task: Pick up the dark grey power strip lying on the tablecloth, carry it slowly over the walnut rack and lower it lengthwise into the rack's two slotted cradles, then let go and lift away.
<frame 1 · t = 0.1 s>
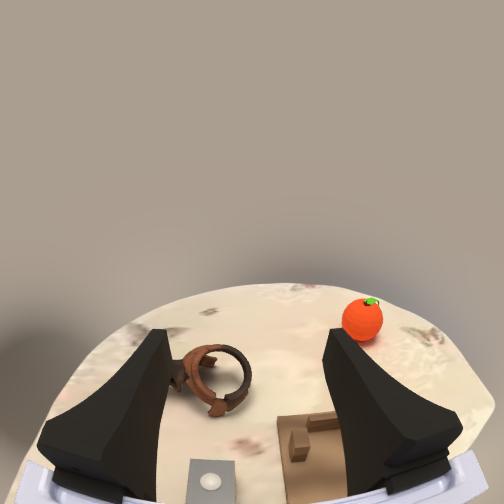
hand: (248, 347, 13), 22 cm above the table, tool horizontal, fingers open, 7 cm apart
clementine: (359, 336, 47), on the table
brown open ring: (204, 392, 35), on the table
rack: (333, 486, 22), on the table
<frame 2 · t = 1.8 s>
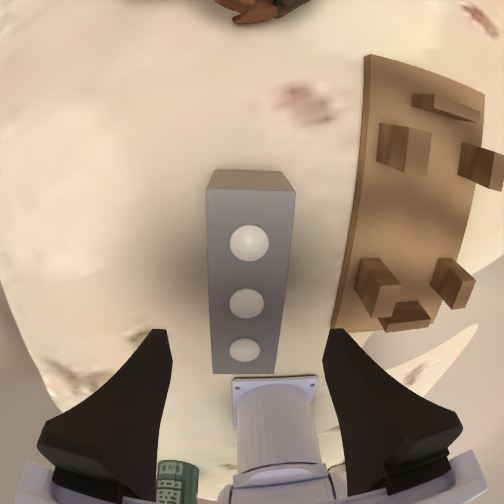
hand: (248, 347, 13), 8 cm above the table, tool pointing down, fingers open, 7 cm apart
can: (178, 466, 36), on the table
power strip: (244, 258, 20), on the table
rack: (414, 210, 19), on the table
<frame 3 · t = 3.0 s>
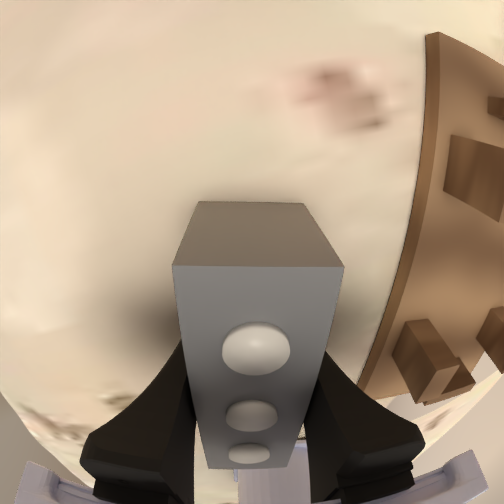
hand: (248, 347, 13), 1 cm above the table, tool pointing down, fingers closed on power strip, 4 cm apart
power strip: (247, 325, 14), on the table, touching gripper
rack: (472, 252, 13), on the table
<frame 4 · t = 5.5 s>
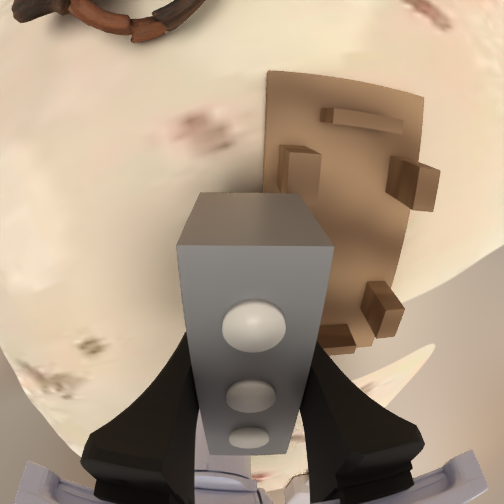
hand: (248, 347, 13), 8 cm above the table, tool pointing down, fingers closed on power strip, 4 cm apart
charger: (315, 474, 41), on the table
power strip: (246, 312, 14), point 6 cm above the table, touching gripper
rack: (334, 232, 19), on the table
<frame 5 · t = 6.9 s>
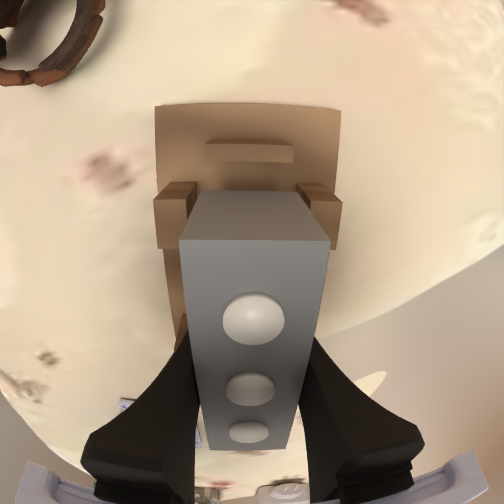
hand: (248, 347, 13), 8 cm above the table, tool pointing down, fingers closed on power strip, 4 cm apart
charger: (282, 485, 41), on the table
brown open ring: (46, 30, 11), on the table
power strip: (246, 308, 15), point 5 cm above the table, touching gripper
rack: (244, 264, 19), on the table
egg carton: (201, 491, 42), on the table
when the fingers open (4 cm above the table, at t = 8.0 s): power strip stays where it is, resting on rack.
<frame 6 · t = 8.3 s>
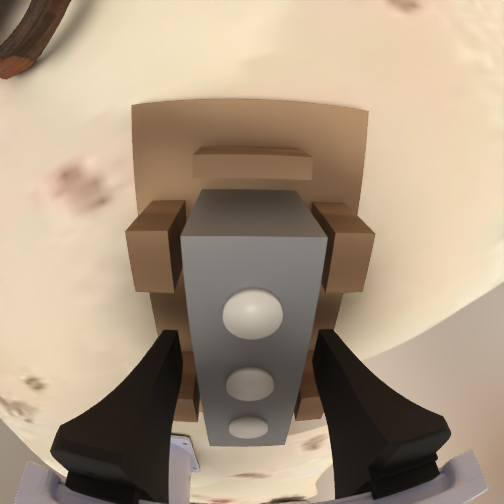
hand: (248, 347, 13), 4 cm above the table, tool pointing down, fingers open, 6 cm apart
charger: (282, 502, 38), on the table
brown open ring: (16, 16, 8), on the table
power strip: (246, 305, 15), point 1 cm above the table, touching rack
rack: (246, 297, 16), on the table
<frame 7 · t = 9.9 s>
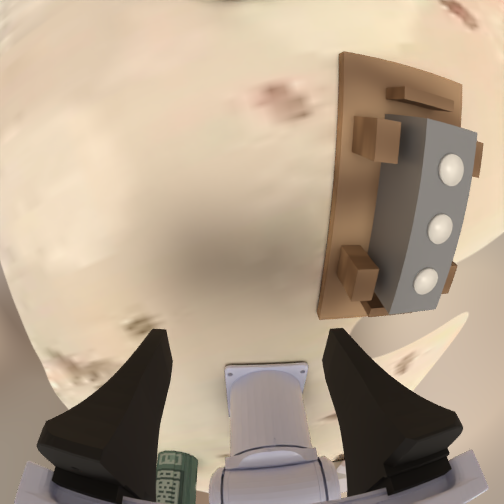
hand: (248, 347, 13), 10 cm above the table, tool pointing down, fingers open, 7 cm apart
can: (178, 457, 38), on the table
charger: (343, 461, 42), on the table
power strip: (400, 201, 19), point 1 cm above the table, touching rack
rack: (393, 199, 20), on the table
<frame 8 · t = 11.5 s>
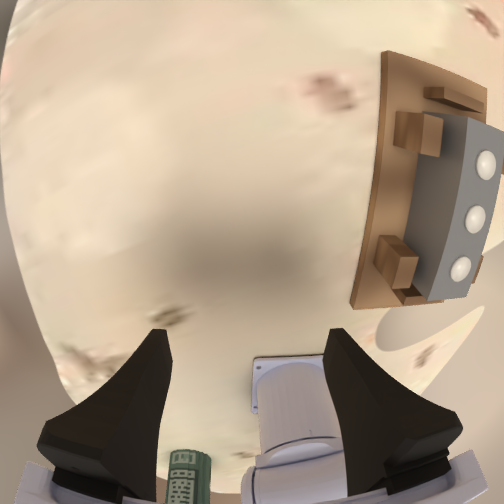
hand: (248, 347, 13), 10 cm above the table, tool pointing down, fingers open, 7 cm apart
can: (190, 456, 37), on the table
power strip: (432, 194, 19), point 1 cm above the table, touching rack
rack: (425, 192, 20), on the table
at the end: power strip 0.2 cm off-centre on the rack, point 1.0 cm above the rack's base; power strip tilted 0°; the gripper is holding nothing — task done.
